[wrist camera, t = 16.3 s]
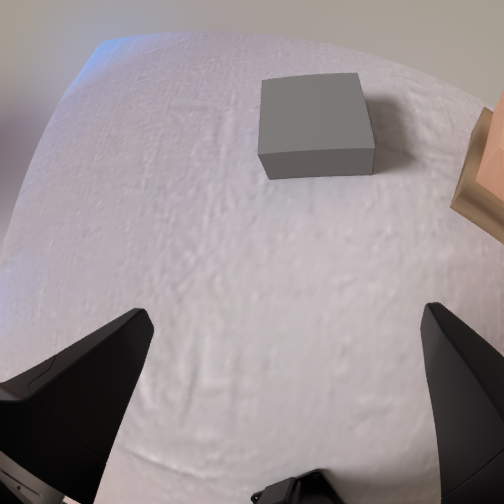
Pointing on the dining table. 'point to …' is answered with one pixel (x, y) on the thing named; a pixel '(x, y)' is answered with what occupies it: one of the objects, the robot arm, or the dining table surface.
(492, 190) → the terracotta block
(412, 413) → the dining table surface
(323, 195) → the dining table surface
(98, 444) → the robot arm
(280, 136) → the charcoal plinth
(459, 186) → the walnut block
